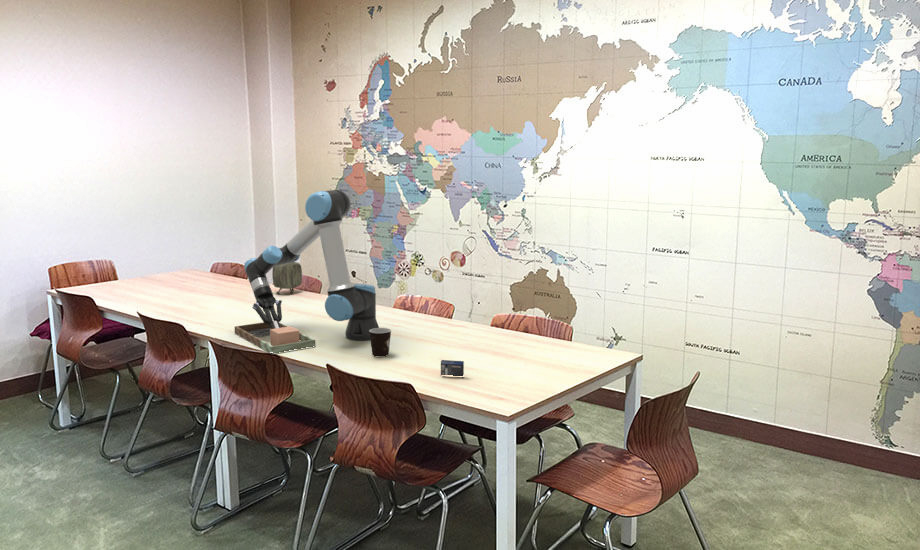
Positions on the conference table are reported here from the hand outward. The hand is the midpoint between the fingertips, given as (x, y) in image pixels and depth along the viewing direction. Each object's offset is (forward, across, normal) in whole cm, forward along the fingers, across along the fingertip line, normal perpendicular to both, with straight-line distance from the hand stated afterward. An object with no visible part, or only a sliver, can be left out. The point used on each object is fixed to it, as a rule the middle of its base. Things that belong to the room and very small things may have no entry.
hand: (278, 335), depth 323 cm
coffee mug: (+31, -24, +26) cm, 47 cm away
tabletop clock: (-65, -46, -70) cm, 106 cm away
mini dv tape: (+60, -32, +54) cm, 87 cm away
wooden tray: (-2, 0, -7) cm, 7 cm away
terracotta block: (+7, 0, +2) cm, 7 cm away
